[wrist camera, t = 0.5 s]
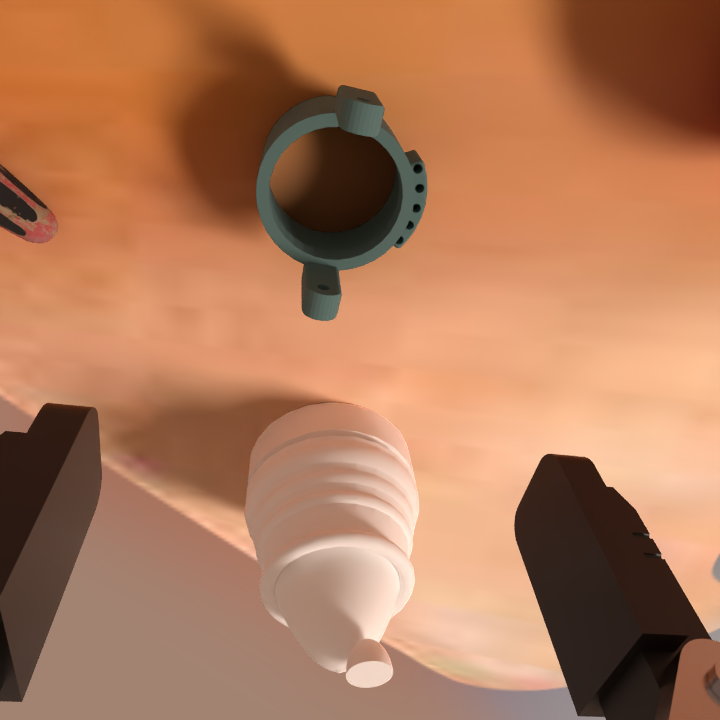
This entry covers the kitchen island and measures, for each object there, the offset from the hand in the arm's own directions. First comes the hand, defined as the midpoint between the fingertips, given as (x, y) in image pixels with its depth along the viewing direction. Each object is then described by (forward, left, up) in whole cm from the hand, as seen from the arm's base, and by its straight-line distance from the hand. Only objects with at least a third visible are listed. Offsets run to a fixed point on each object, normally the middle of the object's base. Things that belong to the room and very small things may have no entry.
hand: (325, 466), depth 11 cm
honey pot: (+23, +10, -28) cm, 38 cm away
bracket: (+1, +2, -28) cm, 28 cm away
